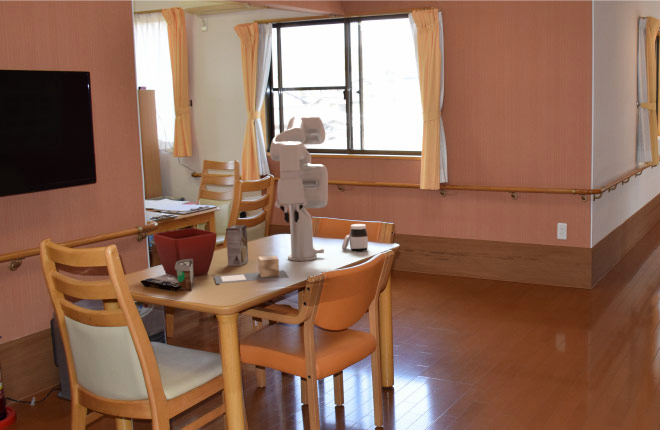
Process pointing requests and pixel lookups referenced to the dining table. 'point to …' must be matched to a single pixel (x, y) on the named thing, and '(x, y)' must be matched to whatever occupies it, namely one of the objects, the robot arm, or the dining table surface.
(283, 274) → the topple mat
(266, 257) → the oak cube
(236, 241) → the coffee box
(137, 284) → the dining table surface
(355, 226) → the spread jar
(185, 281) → the food container
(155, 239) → the plant pot
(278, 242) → the dining table surface
